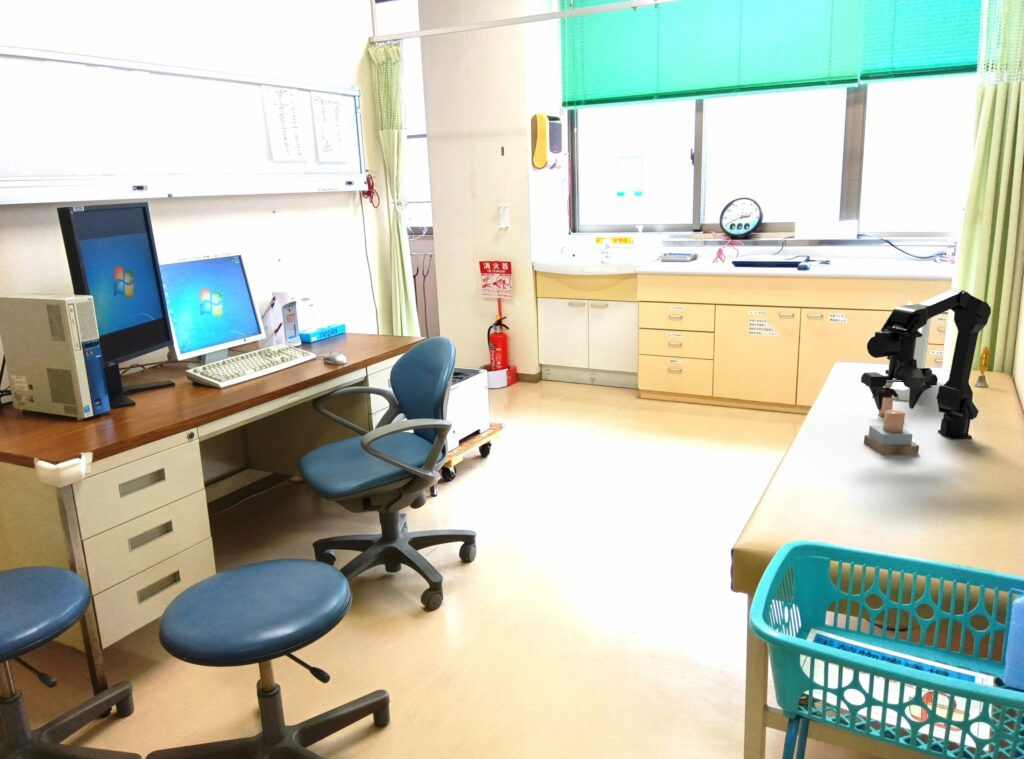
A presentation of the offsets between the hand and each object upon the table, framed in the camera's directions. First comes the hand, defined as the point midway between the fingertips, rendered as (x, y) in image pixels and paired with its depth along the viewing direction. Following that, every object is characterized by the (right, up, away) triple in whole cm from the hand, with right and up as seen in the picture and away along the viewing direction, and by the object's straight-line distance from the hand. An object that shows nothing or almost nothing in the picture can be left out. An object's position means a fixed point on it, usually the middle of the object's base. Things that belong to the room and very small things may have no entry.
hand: (895, 409), depth 208 cm
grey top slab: (0, -9, +3) cm, 9 cm away
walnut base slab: (0, -12, +3) cm, 12 cm away
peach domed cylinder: (0, -6, +1) cm, 6 cm away
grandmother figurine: (+12, -3, +31) cm, 34 cm away
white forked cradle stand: (+35, +5, +61) cm, 71 cm away
